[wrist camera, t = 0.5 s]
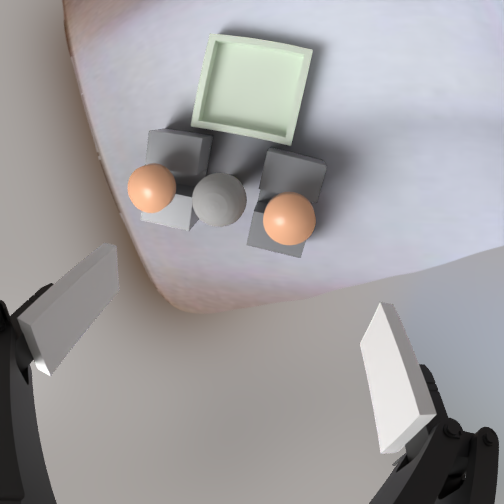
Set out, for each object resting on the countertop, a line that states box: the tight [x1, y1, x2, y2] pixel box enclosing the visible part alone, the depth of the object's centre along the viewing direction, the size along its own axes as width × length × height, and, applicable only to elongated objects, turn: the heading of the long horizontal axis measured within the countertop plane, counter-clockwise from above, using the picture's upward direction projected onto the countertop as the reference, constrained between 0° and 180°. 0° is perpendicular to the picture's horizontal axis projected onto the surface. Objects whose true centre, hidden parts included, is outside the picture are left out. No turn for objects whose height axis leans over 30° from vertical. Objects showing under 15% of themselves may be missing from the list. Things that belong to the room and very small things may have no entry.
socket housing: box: [141, 129, 327, 258], centre depth 34 cm, size 11×20×4 cm, turn 78°
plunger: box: [128, 163, 176, 213], centre depth 31 cm, size 5×5×6 cm
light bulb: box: [192, 173, 247, 227], centre depth 31 cm, size 5×6×10 cm
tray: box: [191, 34, 313, 146], centre depth 29 cm, size 12×12×2 cm
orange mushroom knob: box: [263, 192, 316, 245], centre depth 30 cm, size 5×5×6 cm
